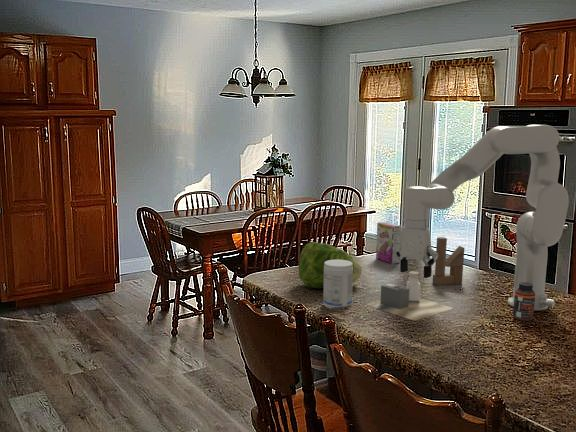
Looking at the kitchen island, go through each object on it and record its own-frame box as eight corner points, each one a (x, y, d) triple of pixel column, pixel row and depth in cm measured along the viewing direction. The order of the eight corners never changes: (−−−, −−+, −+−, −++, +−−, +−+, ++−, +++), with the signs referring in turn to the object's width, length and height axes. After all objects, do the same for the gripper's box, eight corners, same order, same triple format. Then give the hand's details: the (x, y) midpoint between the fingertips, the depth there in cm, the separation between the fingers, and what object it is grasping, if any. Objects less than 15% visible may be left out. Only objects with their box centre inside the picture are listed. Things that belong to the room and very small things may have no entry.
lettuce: (355, 301, 217) (373, 277, 205) (295, 294, 210) (311, 269, 199) (348, 265, 228) (366, 240, 216) (292, 257, 221) (306, 231, 209)
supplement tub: (341, 300, 198) (342, 257, 196) (357, 307, 190) (359, 264, 188) (317, 304, 193) (318, 260, 191) (333, 312, 185) (334, 267, 183)
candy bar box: (375, 258, 259) (376, 222, 256) (383, 257, 261) (385, 221, 258) (391, 264, 249) (393, 226, 246) (400, 263, 252) (402, 225, 249)
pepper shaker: (417, 298, 197) (418, 271, 196) (420, 301, 193) (421, 274, 192) (405, 298, 197) (406, 270, 196) (408, 301, 193) (409, 274, 192)
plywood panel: (453, 311, 188) (454, 308, 187) (414, 324, 175) (414, 320, 175) (404, 296, 203) (405, 293, 203) (365, 307, 190) (365, 304, 190)
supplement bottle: (520, 322, 179) (523, 286, 177) (508, 316, 184) (511, 281, 182) (537, 320, 180) (540, 285, 178) (524, 314, 186) (527, 280, 184)
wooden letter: (462, 284, 220) (465, 237, 217) (437, 286, 217) (439, 238, 214) (456, 281, 223) (459, 235, 220) (432, 283, 220) (434, 237, 217)
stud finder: (408, 306, 188) (409, 287, 187) (399, 309, 185) (400, 290, 184) (389, 300, 194) (390, 282, 193) (380, 303, 191) (381, 284, 190)
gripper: (388, 222, 196) (388, 271, 198) (430, 228, 182) (429, 281, 185) (402, 219, 200) (402, 267, 203) (445, 225, 187) (444, 277, 190)
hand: (415, 274), depth 194 cm, fingers open, 9 cm apart
